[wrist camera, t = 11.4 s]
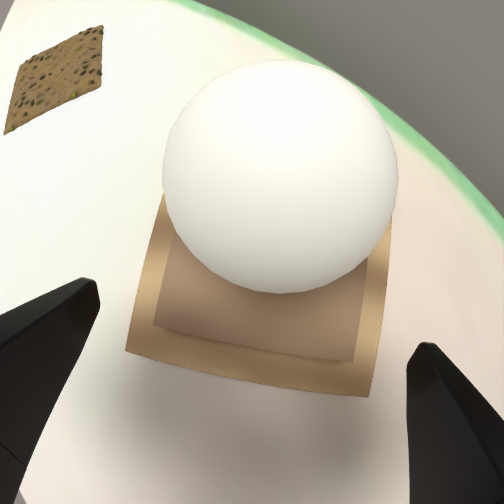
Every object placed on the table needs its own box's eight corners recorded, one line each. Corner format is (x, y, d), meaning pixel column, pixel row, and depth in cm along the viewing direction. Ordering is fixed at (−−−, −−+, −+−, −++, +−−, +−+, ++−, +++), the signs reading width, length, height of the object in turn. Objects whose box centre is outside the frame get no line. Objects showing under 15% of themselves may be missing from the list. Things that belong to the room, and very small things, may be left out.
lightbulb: (204, 308, 15) (99, 263, 5) (211, 190, 17) (160, 18, 6) (330, 310, 15) (467, 271, 5) (327, 193, 17) (403, 30, 6)
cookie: (20, 68, 27) (16, 63, 26) (105, 26, 27) (102, 20, 26) (4, 139, 24) (-1, 134, 23) (103, 89, 24) (100, 83, 24)
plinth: (357, 391, 18) (380, 404, 14) (137, 349, 19) (110, 352, 15) (382, 184, 21) (404, 157, 17) (188, 149, 22) (176, 116, 18)
